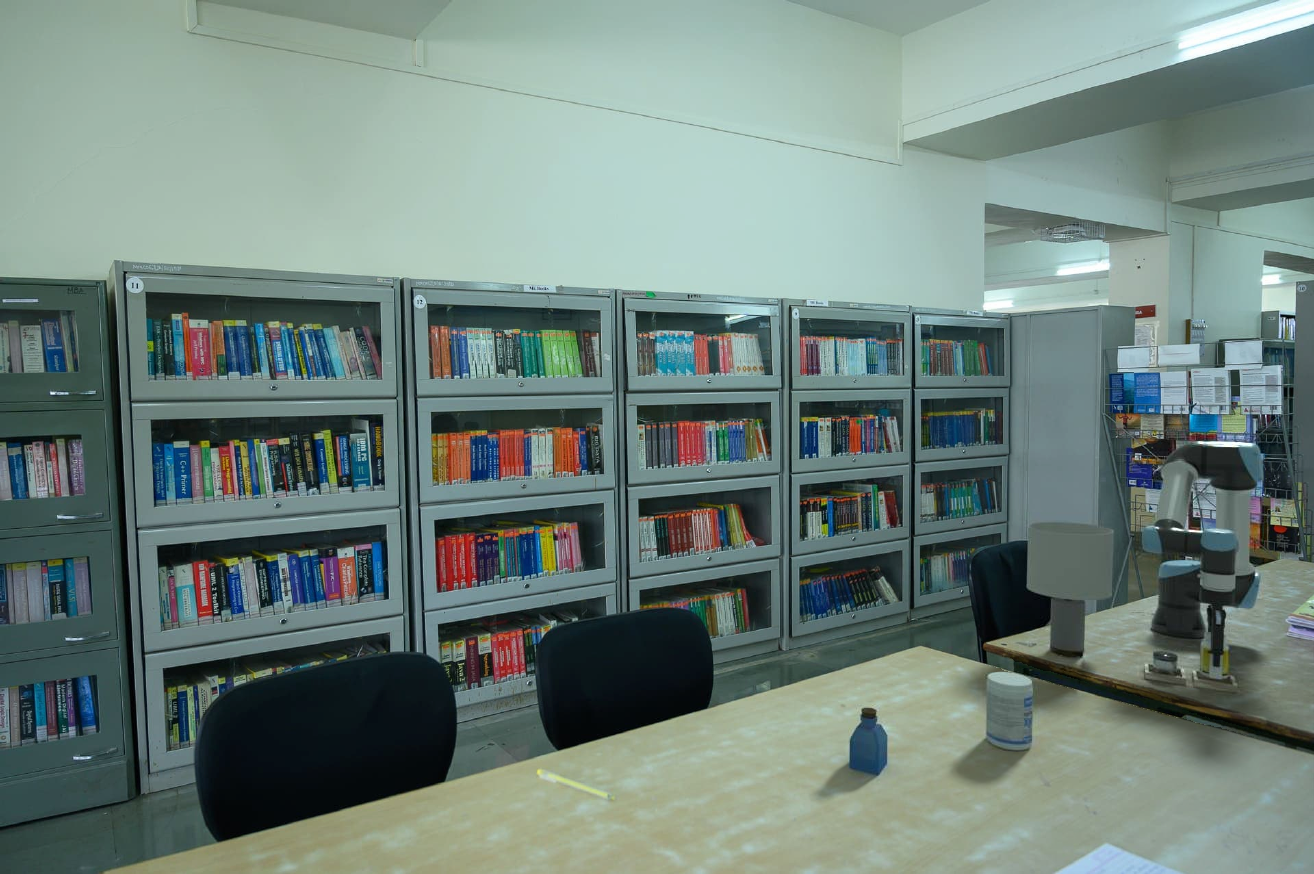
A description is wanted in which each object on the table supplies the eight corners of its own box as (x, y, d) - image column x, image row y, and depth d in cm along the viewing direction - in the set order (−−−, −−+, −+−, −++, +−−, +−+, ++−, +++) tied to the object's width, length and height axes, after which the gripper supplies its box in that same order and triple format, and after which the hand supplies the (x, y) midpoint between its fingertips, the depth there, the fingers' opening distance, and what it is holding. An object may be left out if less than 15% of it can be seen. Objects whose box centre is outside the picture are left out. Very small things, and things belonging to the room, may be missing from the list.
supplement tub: (1035, 754, 171) (1036, 688, 170) (987, 749, 174) (989, 683, 173) (1028, 736, 180) (1029, 673, 179) (983, 731, 183) (984, 669, 182)
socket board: (1140, 670, 222) (1140, 661, 222) (1236, 685, 211) (1237, 675, 211) (1141, 683, 213) (1141, 673, 213) (1241, 699, 201) (1242, 688, 201)
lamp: (1066, 637, 253) (1068, 520, 251) (1128, 660, 231) (1132, 532, 229) (1008, 645, 246) (1010, 524, 244) (1067, 669, 224) (1071, 536, 222)
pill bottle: (1233, 680, 206) (1235, 638, 205) (1208, 679, 206) (1209, 637, 206) (1219, 671, 212) (1220, 631, 211) (1194, 671, 212) (1196, 630, 212)
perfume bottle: (878, 775, 162) (879, 718, 161) (849, 768, 165) (849, 712, 165) (887, 763, 167) (887, 708, 167) (858, 756, 171) (859, 702, 170)
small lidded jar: (1152, 671, 219) (1152, 650, 218) (1176, 674, 216) (1177, 653, 215) (1152, 677, 214) (1153, 655, 213) (1177, 681, 211) (1178, 659, 210)
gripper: (1197, 579, 218) (1194, 661, 219) (1202, 594, 201) (1199, 682, 203) (1230, 582, 214) (1227, 665, 215) (1238, 598, 197) (1235, 688, 199)
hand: (1214, 673), depth 209 cm, fingers closed on pill bottle, 6 cm apart
